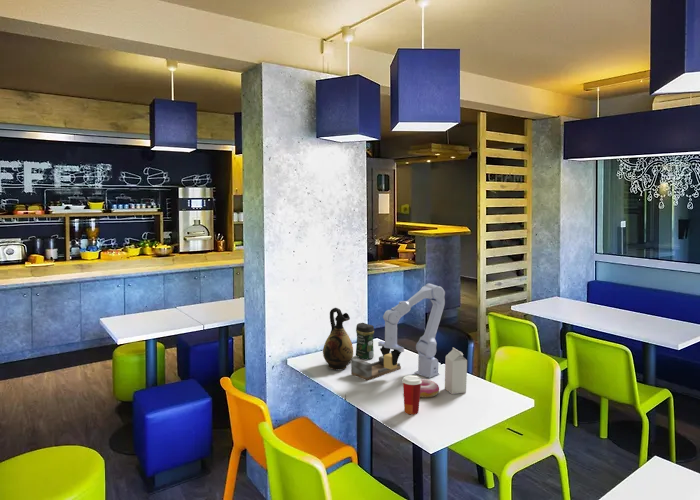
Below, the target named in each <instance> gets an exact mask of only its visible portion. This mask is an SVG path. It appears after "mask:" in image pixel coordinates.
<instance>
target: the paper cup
mask: <svg viewBox="0 0 700 500" xmlns="http://www.w3.org/2000/svg"><path fill="white" fill-rule="evenodd" d="M421 379H422V378H421V377H420V376H417V375H411V374H410V375H405V376H404V377H403V378H402V380H401V382H402V384H403V406H404V407H403V408H404V410H403V411H404V413H405V414H407V415H409V416H410V415H413V416H414V415H418V414H419V408H420V400H421V397H420V387H421V383H422V381H421Z"/></svg>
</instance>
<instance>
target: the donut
mask: <svg viewBox="0 0 700 500" xmlns="http://www.w3.org/2000/svg"><path fill="white" fill-rule="evenodd" d="M420 379H421V381H422V383H421V387H420V399H421V398H423V399H425V398H426V399H428V398H432V397H433V398H434V396H437V395H438V394H439V392H440V386H439V385H438V383H436V381H434V380H431V379H428V378H427V379H426V378H420Z"/></svg>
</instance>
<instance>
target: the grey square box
mask: <svg viewBox="0 0 700 500" xmlns="http://www.w3.org/2000/svg"><path fill="white" fill-rule="evenodd" d="M378 361H379V364H381V365H384V357H383V355H381V356H379V357H378Z"/></svg>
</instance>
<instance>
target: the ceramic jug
mask: <svg viewBox="0 0 700 500" xmlns="http://www.w3.org/2000/svg"><path fill="white" fill-rule="evenodd" d="M335 313H336V315H337V316H336V317H335V316H334V315H335ZM350 319H351V318H350V315H349V314H348V313H347V312H344V313H343V311H341V309H340V308H338V307H333V308H331V309H330V311H329V320H330V321H329V322H330V326H331V329H330V333H329V335H328V336H327V338H326V340H325V343H324V346H323V348H322V349H323V350H322V355H323V358H324V361H325V362H326V363H327V366H328V368H329V369H330V370H333V371H343V370H346V369H347V366H348V365H349V364H350V363H351V360H352V359H353V356H354V346H353V343H352V342H353V341H352V340H351V338H350V336H349V334H348V332H347V331H346V329H345V328H344V325H343V324H344V322H347V321H349V320H350Z"/></svg>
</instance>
